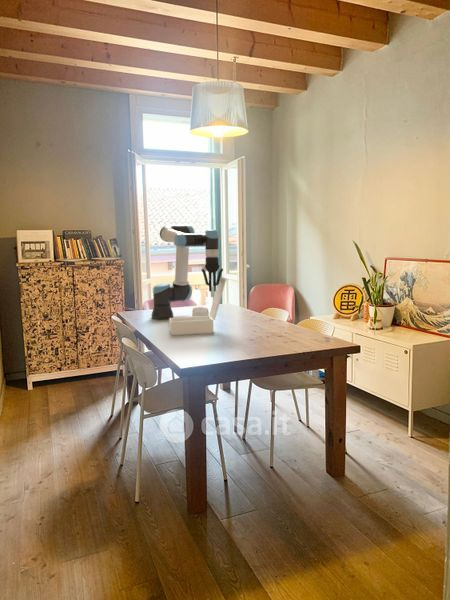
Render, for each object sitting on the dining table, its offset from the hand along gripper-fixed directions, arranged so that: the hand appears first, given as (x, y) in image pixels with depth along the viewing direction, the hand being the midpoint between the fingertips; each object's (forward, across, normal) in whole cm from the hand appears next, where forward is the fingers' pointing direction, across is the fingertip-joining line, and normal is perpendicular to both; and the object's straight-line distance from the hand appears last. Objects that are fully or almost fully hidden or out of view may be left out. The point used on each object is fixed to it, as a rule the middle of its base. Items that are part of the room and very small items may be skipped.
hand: (212, 296), depth 261 cm
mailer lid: (0, +1, 0) cm, 1 cm away
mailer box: (+21, -13, 0) cm, 24 cm away
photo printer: (+21, -5, +16) cm, 26 cm away
